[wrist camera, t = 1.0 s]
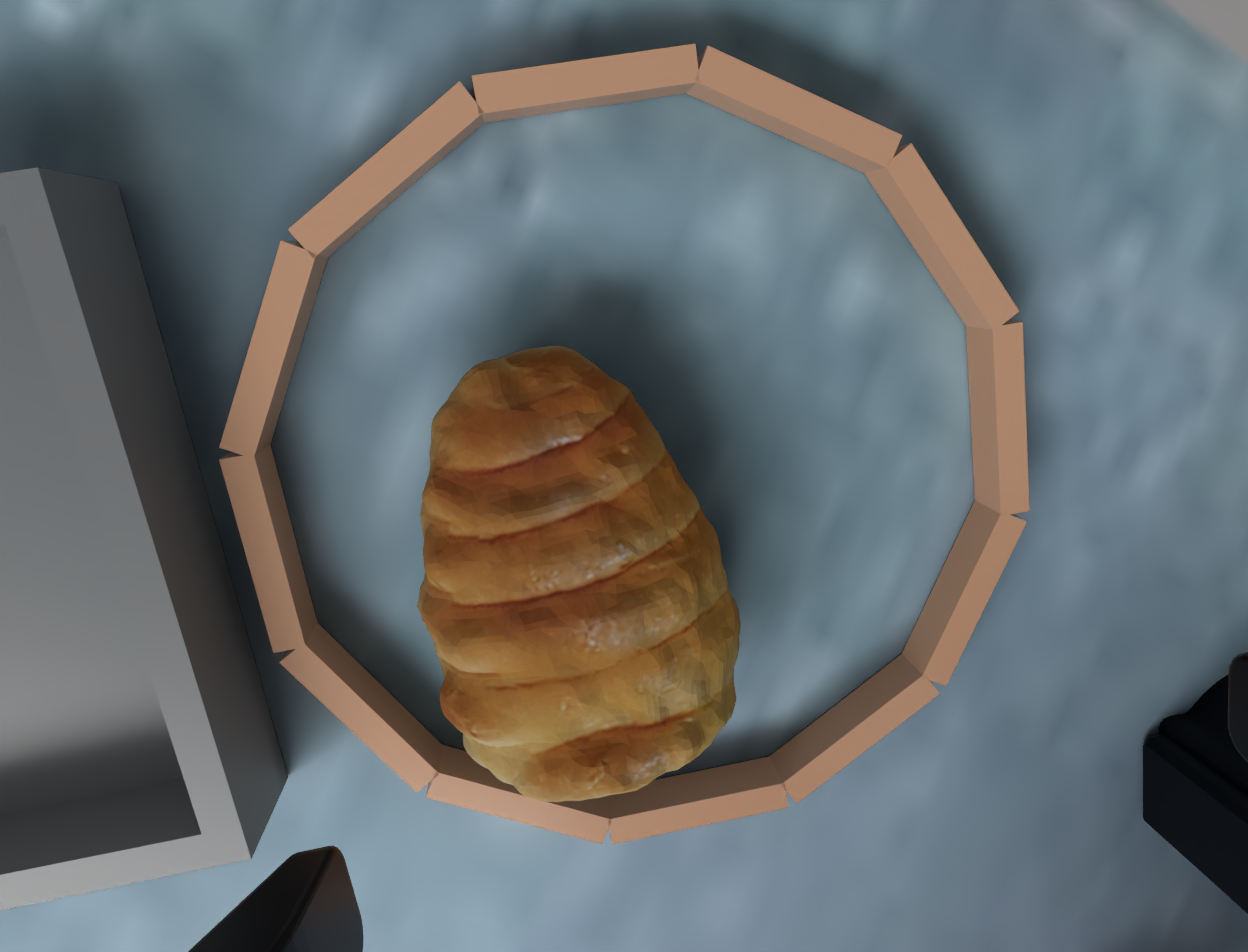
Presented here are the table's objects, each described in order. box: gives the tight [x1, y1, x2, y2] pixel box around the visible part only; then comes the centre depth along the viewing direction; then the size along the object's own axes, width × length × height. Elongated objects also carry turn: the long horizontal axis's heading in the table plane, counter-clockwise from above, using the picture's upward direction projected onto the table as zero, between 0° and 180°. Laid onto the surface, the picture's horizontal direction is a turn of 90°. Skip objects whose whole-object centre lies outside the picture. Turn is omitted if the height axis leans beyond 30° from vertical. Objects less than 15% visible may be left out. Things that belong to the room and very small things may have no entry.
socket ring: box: [219, 44, 1029, 844], centre depth 20 cm, size 17×17×1 cm
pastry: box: [417, 346, 740, 802], centre depth 18 cm, size 9×7×4 cm
